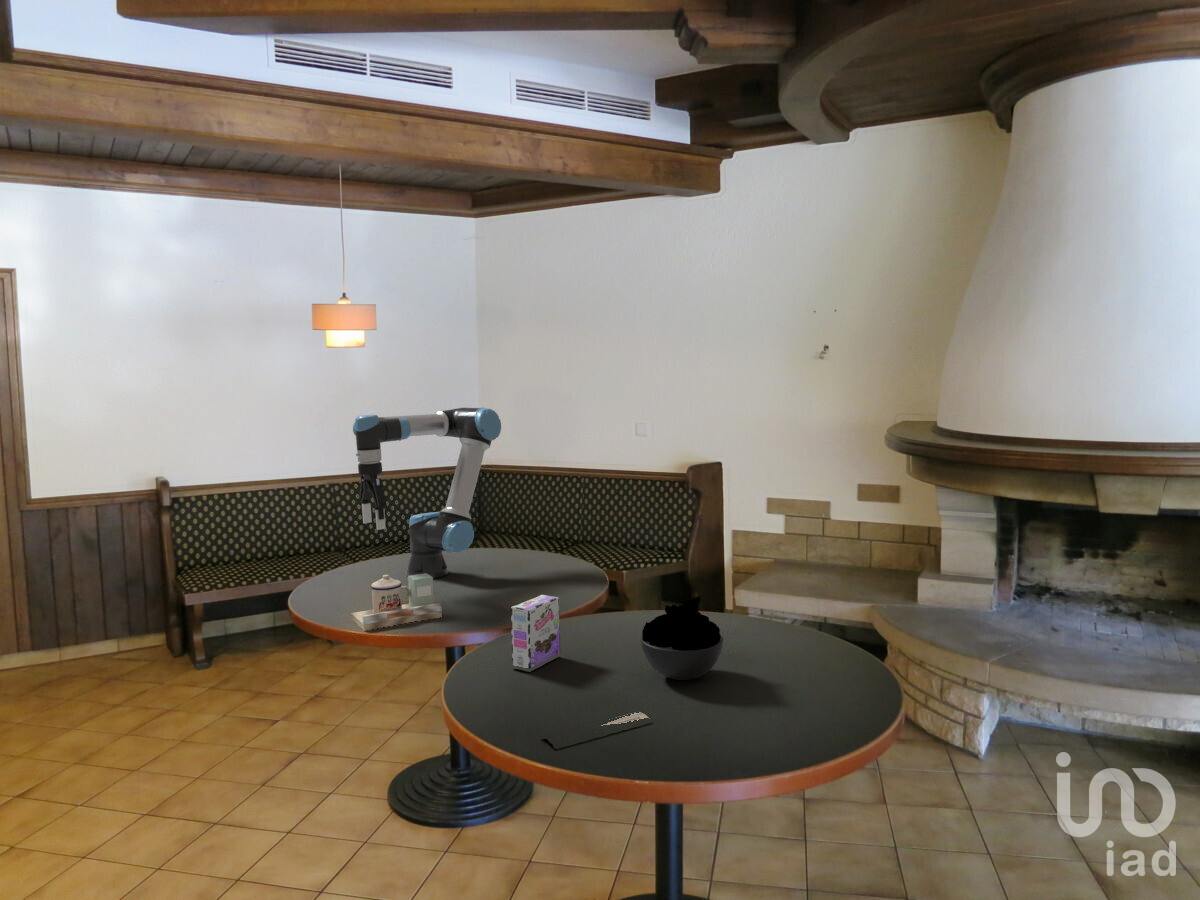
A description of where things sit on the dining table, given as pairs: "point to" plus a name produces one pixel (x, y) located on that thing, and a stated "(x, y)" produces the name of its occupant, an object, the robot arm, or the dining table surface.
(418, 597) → the tin
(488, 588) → the dining table surface
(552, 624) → the candy box
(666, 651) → the bowl of black rocks
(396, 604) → the teacup with lid
